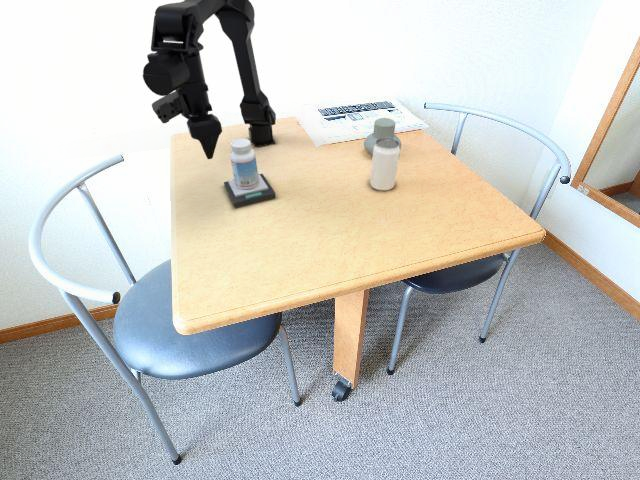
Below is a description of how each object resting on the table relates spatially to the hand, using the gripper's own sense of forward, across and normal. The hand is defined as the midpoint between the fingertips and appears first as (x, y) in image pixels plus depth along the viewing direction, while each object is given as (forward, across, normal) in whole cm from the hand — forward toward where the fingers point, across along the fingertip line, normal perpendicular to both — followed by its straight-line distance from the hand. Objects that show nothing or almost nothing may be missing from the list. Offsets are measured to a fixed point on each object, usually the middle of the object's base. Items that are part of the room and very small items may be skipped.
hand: (205, 149), depth 84 cm
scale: (+13, +2, +8) cm, 15 cm away
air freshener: (+13, -2, +50) cm, 52 cm away
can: (+13, +13, +41) cm, 45 cm away
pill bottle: (+11, +1, +8) cm, 14 cm away
